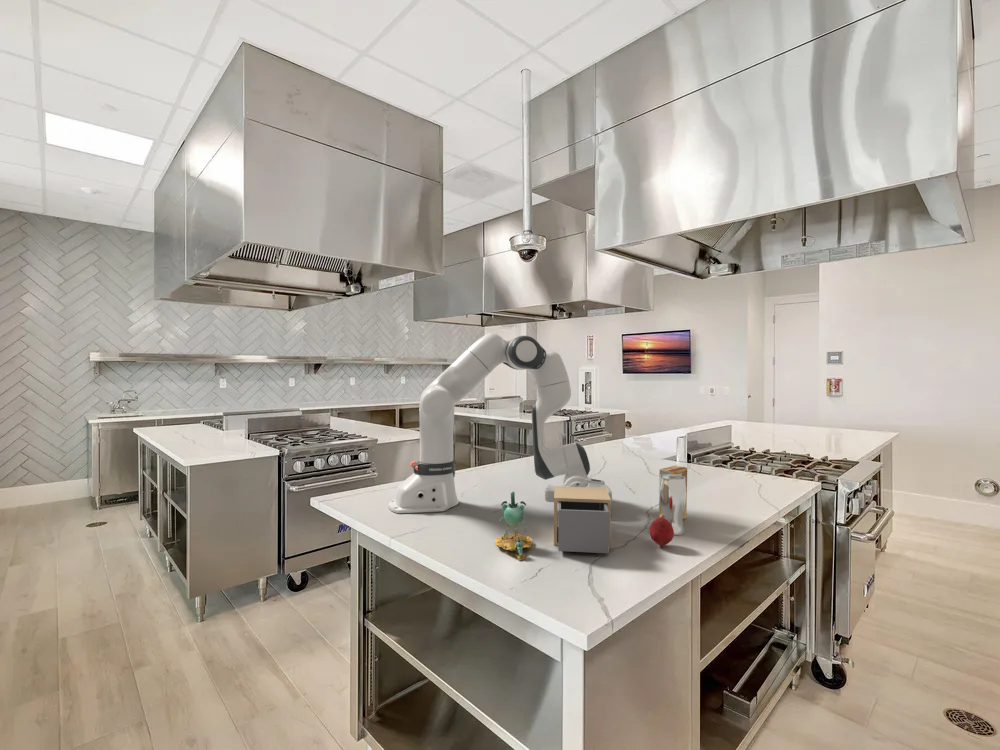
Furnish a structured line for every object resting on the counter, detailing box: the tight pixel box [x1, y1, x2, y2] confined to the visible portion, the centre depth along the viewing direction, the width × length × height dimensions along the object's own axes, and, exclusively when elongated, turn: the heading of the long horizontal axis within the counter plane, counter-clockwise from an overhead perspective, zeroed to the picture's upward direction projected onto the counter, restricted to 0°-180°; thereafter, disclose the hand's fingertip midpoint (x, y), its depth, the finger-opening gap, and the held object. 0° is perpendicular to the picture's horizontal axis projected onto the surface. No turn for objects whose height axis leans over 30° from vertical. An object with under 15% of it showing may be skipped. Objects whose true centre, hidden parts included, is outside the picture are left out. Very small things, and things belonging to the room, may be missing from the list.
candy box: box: [658, 465, 688, 520], centre depth 138 cm, size 9×4×15 cm, turn 129°
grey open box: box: [557, 501, 610, 554], centre depth 121 cm, size 20×12×10 cm, turn 173°
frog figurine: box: [494, 491, 533, 561], centre depth 118 cm, size 10×18×15 cm, turn 175°
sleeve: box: [553, 485, 612, 549], centre depth 123 cm, size 12×14×12 cm
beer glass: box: [658, 474, 686, 536], centre depth 128 cm, size 7×7×15 cm
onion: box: [648, 514, 675, 547], centre depth 117 cm, size 6×6×8 cm
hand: (578, 501), depth 137 cm, fingers closed
